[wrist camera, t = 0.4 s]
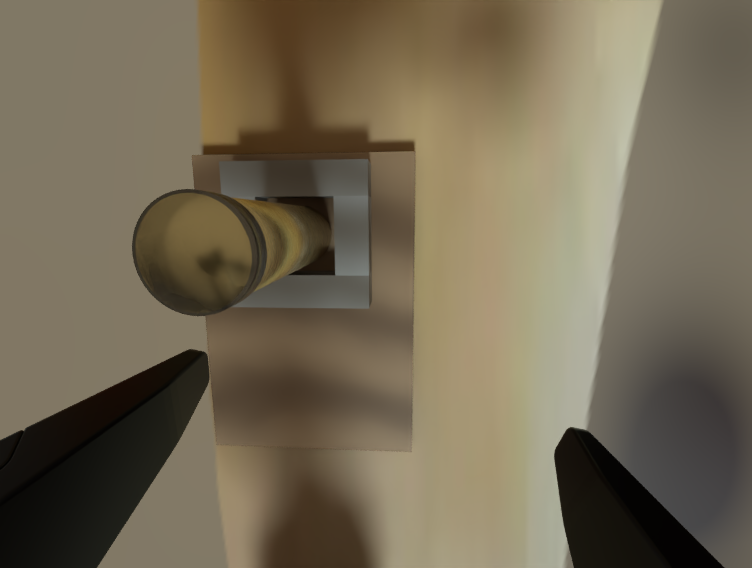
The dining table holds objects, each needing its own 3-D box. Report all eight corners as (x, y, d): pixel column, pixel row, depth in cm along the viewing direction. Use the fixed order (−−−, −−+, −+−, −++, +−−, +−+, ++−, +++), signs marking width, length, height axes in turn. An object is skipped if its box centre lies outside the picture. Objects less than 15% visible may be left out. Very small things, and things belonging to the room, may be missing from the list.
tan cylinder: (333, 265, 24) (258, 316, 11) (275, 265, 24) (139, 315, 12) (332, 204, 23) (251, 188, 11) (272, 204, 24) (125, 189, 11)
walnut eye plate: (411, 443, 27) (412, 471, 24) (222, 436, 28) (202, 462, 25) (414, 154, 24) (416, 145, 21) (199, 157, 25) (172, 149, 22)
